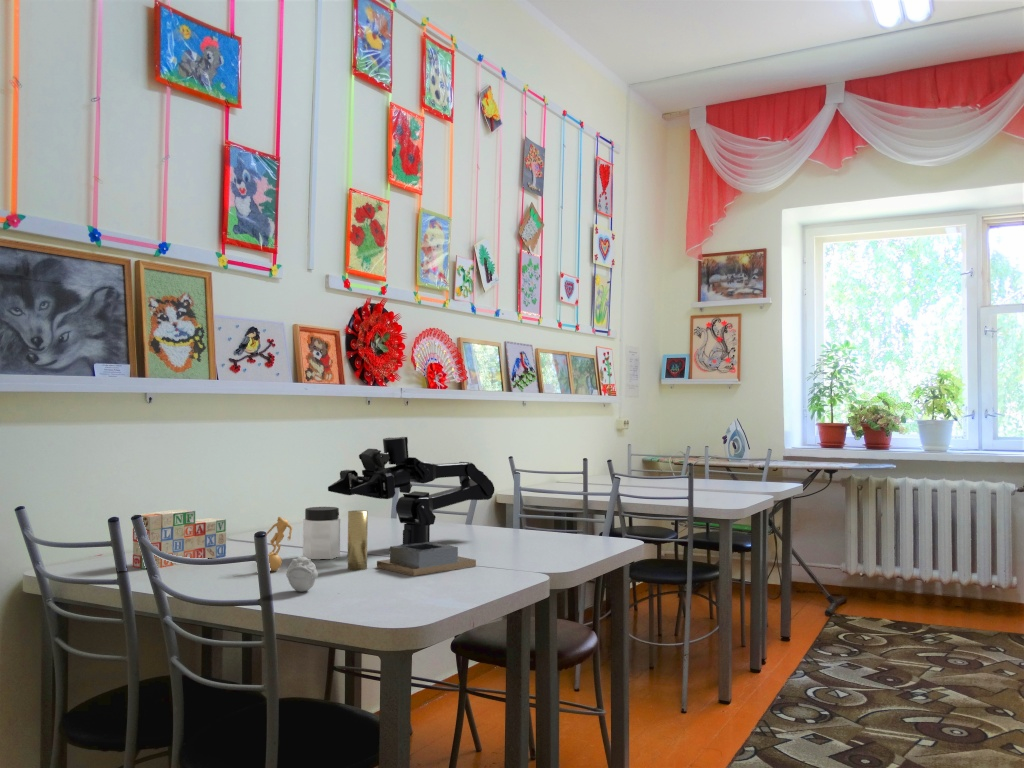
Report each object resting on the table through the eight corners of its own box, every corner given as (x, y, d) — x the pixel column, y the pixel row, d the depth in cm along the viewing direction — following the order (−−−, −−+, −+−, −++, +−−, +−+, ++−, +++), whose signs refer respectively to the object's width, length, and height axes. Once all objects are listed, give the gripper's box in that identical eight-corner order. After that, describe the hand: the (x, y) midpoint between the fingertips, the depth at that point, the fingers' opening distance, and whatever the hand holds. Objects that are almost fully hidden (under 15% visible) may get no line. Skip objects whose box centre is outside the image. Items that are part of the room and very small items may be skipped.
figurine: (252, 570, 188) (253, 516, 189) (274, 566, 193) (275, 514, 194) (277, 574, 184) (278, 519, 184) (298, 570, 189) (299, 517, 189)
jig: (438, 558, 205) (438, 538, 205) (475, 566, 195) (476, 544, 195) (376, 567, 193) (377, 545, 193) (413, 576, 183) (413, 553, 183)
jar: (345, 557, 206) (345, 508, 206) (314, 561, 201) (315, 511, 201) (328, 553, 213) (328, 505, 213) (298, 556, 208) (298, 507, 208)
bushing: (360, 566, 195) (360, 509, 195) (370, 568, 191) (371, 511, 192) (343, 568, 192) (344, 511, 192) (354, 571, 188) (355, 513, 189)
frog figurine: (282, 595, 163) (282, 559, 163) (290, 588, 170) (291, 553, 170) (313, 595, 163) (314, 559, 163) (320, 588, 170) (321, 553, 170)
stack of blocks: (209, 554, 210) (210, 505, 211) (226, 557, 207) (227, 506, 208) (131, 567, 192) (132, 513, 193) (148, 570, 189) (149, 515, 190)
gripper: (363, 446, 222) (313, 456, 210) (410, 448, 210) (360, 459, 198) (366, 488, 223) (318, 500, 211) (413, 492, 210) (364, 505, 199)
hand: (339, 490), depth 205 cm, fingers open, 9 cm apart
